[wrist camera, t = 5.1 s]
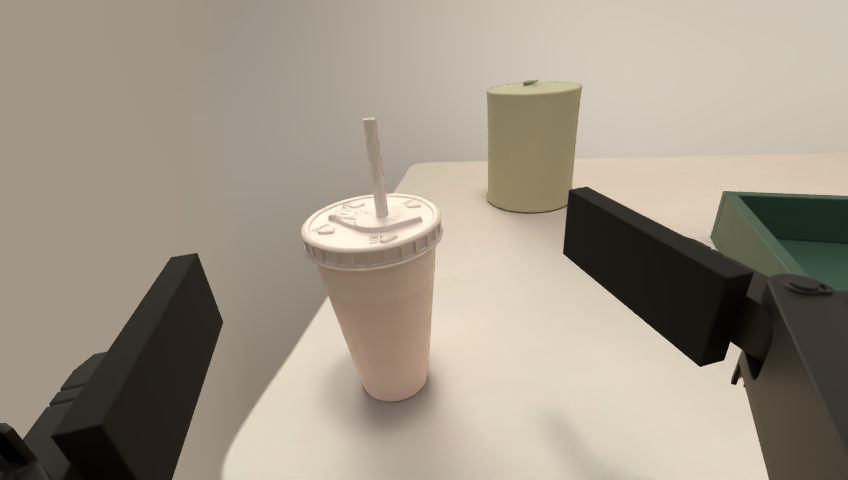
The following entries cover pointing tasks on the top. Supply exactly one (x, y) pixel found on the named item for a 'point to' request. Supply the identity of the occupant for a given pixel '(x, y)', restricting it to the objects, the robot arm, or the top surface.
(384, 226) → the smoothie
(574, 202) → the robot arm
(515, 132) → the can
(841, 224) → the bin
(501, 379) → the top surface
